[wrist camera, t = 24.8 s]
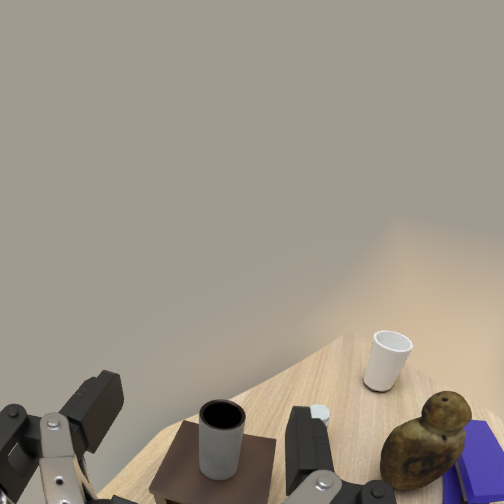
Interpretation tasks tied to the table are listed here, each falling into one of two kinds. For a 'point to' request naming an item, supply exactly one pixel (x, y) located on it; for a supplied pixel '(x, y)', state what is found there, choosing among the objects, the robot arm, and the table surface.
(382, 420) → the table surface
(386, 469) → the sculpture
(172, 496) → the plant stand
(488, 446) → the stapler
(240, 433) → the planter
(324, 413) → the pill bottle
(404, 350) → the cup
